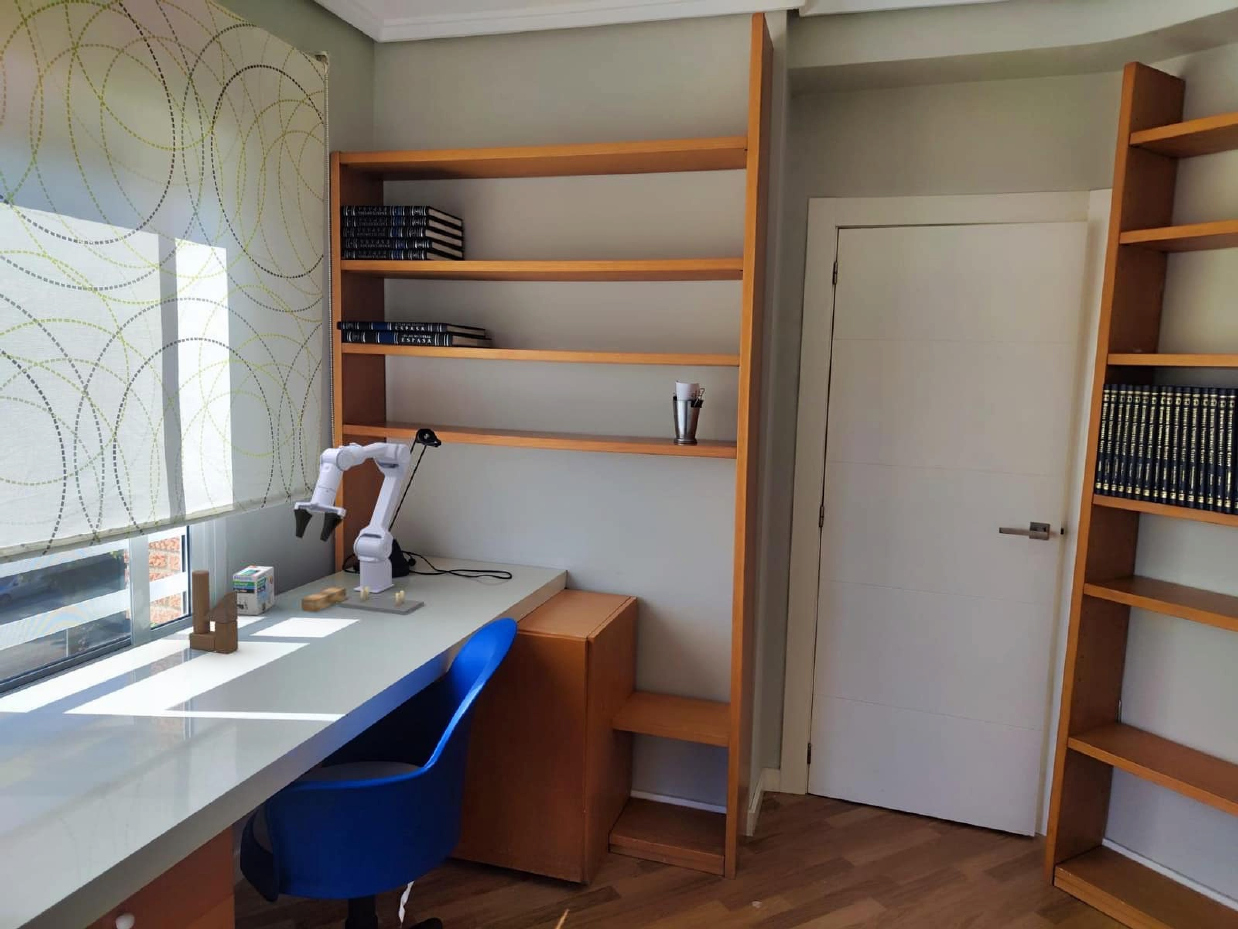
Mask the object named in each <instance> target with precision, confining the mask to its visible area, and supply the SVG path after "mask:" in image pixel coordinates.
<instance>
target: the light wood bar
mask: <svg viewBox="0 0 1238 929" xmlns="http://www.w3.org/2000/svg"><path fill="white" fill-rule="evenodd" d="M342 600H343V601H346V600H347V588H346V587H341V586H333V587H329V588H326V589H324V590H322V591H318V592H316V593H313V594H311V595H308V596H306V597H304V598H301V611H302V610H303V611H302V612H309V613H317V612H318V610H319V611H321V610H323V609H327V608H328V607H330V606H333V605H335V603H336V602H338V603H341V602H343V601H342ZM336 604H337V603H336ZM327 606H328V607H327ZM320 609H321V610H320Z"/></svg>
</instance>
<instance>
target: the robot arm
mask: <svg viewBox="0 0 1238 929" xmlns="http://www.w3.org/2000/svg"><path fill="white" fill-rule="evenodd" d="M368 458H370V459H371V458H373V460H374V462H375V464H376V466H377V467H378V469H379V471H380V473H382V474H383V475H384V480H383V482H382V486H381V489H380V491H379V496H378V497H377V500H376V501H377V502H376V505H375V508H374V511H373V512H372V513H373V514H372V516H371V519H370V522H369V525H367V526H366V527H364V528H362V529H361V530H360V531H359V534H358V536H357V537H356V539H355V541H354V544H353V553H354V554H355V556H356V557H357V560H359V586H356V587H354V588H353V590H354V591H357V592H361V589H362V588H364V593H366V586H369V593H373V594H378V593H381V592H383V591H385V590H387V589H390V588H392V587H393V586H395V584H394V583H392V582H393V581H392V577H393V576H392V574H393V572H392V571H393V570H392V562H391V560H390V559H389V557H390V555H391V554H392V551H393V540H394V536H393V535H392V533H391V532H390V531H389V530H388V529H389V526H390V524H391V520H392V516H393V513H394V511H395V506H396V505H397V500H398V498H399V495H400V491H401V488H402V485H403V481H404V478H405V475H406V474H407V472H408V469H409V465H410V462H411V460H412V456H411V451H410V447H409V446H408V445H407V444H405V443H402V444H400V443H399V444H397V443H386V442H381V441H380V442H374V443H371V444H368V445H364V446H362V445H360V444H357V443H356V442H350V443H349V445H347V446H345V445H339V446H338V448H331V447H330V448H327V449H325V450H324V451H322V453H321V454H320V456H319V469H318V470H319V475H318V478H317V481H316V484H315V488H314V491H313V494H312V498H311V500H310V501H309V502H299V501H297V502H295V505H294V510H293V513H294V519H295V537H297V538H299V539H303V536H304V535H305V531H306V529H307V526H308V524H309V523H310V521H311V519H312V518H313V514H312V513H316V514H324V516H323V518H324V519H323V525H322V526H323V527H322V530H321V532H320V536H319V537H320V539H319V540H320V541H323V542H324V543H326V542H328V539H329V538H330V536H331V535H332V533H333V532H334V530H336V528H337V527H338V526H339V525H340V524H342V522H343V519H342V518H344V517H345V516H346V512H347V510H346V509H344V508H343V507H338V506H334V503H335V501H336V497H337V495H338V494H337V493H338V490H339V487H340V484H341V481H342V477H343V474H344V472H345V471H348V470H349V469H350V468H351V467H355V466H358V465H362V464H363V463H364V462H365V461H366V459H368Z"/></svg>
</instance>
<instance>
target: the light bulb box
mask: <svg viewBox="0 0 1238 929" xmlns="http://www.w3.org/2000/svg"><path fill="white" fill-rule="evenodd" d="M274 572H275V568H274V566H260V565H249V566H248V567H246V568H243V569H242V570H240V571H239V572H236V573H234V574H232V589H233V590H232V592H233V591H236V590H237V614H238V615H243V616H244V615H247V616H248V615H249V616H259V615H260V614H262V613H264V612H265V611H267V610H268V609H270V608H272V607H273V606H275V573H274Z"/></svg>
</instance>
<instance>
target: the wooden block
mask: <svg viewBox="0 0 1238 929" xmlns="http://www.w3.org/2000/svg"><path fill="white" fill-rule="evenodd" d="M191 586H192V587H191V588H192V592H191V594H192V596H191V597H192V623H193V624H192V626H193V631H192V632H190V633H189V648H190V649H195V648H196V650H202V651H207V650H210V651H209V652H213V651H216V653H218V652H220V653H219V654H224V653H225V654H226V655H228V654H230V652H231V653H233V652H235V651H238V650H239V635H238V633H239V632H238V631H239V630H238V629H239V628H238V627H239V625H238V624H239V623H238V618H239V617H238V615H239V614H237V590H236V591H233V590H232V591H229V592H227V593H224V595H223V596H222V597H221V598H220V599H219V600H218V601H217V603H216V604H214V605H213V607H212V608H211V598H210V597H211V596H210V594H211V593H210V592H211V590H210V571H209V570H206V569H199V570H194V571H192V572H191ZM211 622H213V623H214V630H211ZM237 649H238V650H237ZM234 650H235V651H234ZM225 654H224V655H225Z"/></svg>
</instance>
